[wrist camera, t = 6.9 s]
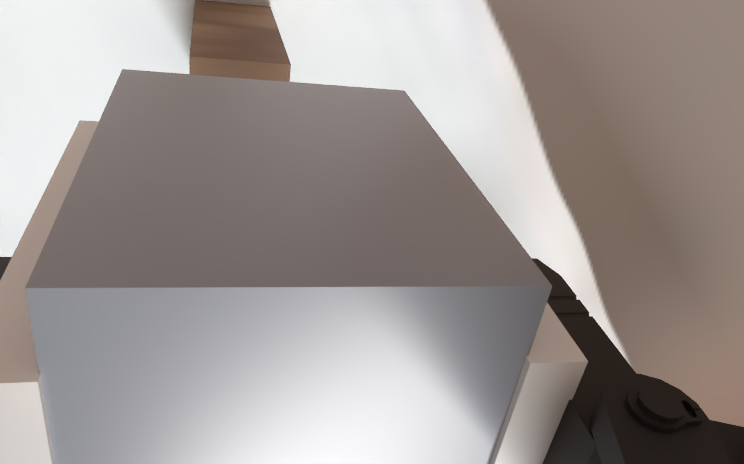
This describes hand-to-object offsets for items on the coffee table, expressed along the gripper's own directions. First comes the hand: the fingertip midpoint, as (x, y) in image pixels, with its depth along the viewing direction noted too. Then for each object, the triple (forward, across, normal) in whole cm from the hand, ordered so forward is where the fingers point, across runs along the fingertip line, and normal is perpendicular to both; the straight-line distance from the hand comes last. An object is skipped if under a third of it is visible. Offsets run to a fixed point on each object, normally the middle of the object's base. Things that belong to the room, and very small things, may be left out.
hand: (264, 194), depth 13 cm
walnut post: (+12, 0, 0) cm, 12 cm away
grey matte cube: (0, 0, 0) cm, 0 cm away
